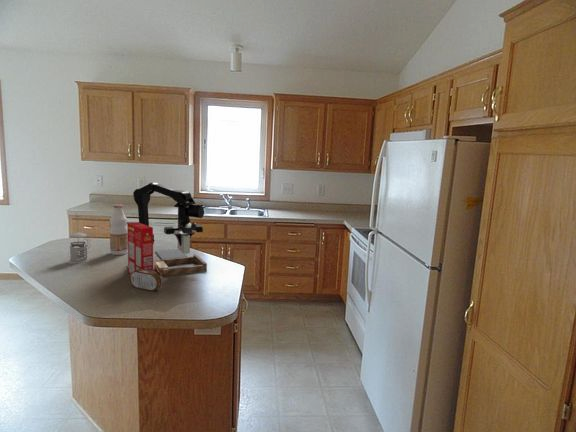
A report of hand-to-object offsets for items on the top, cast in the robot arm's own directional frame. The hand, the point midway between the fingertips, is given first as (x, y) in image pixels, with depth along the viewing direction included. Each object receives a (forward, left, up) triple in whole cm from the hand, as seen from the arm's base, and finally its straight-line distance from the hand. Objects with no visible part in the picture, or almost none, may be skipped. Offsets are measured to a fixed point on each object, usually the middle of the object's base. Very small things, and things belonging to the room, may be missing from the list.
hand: (183, 245), depth 195 cm
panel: (0, 0, -2) cm, 2 cm away
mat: (0, +26, -12) cm, 29 cm away
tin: (-23, -23, -12) cm, 35 cm away
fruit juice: (-26, +40, -12) cm, 49 cm away
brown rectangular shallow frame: (-2, 0, -12) cm, 12 cm away
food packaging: (-22, -5, -12) cm, 26 cm away
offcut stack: (-11, 0, -12) cm, 17 cm away
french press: (-46, +32, -12) cm, 57 cm away
